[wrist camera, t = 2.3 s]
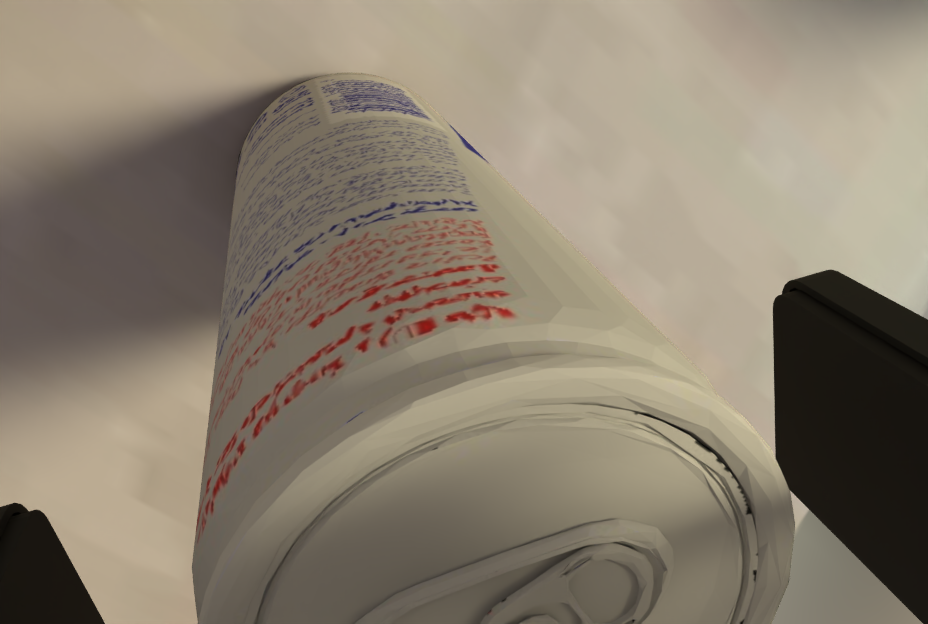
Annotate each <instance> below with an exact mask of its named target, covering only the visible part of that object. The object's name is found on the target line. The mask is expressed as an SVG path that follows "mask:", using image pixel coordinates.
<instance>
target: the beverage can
mask: <svg viewBox="0 0 928 624" xmlns="http://www.w3.org/2000/svg"><path fill="white" fill-rule="evenodd" d="M794 530H795V521H794V514H793V507H792V501H791V494H790V490H789V488H788V485H787V483H786V481H785V478H784V476H783V474H782V471H781V469H780V467H779V465H778V463H777V460H776V458H775V456H774V454H773V452H772V450H771V448H770V447H769V446H768V445H767V443H766V442H765V441H764V440H763V439H762V437H761V436H760V435H759V434H758V433H757V431H756V430H755V429H754V428H753V427H752V425H751V424H750V423H749V422H748V421H747V420H746V419H745V418H744V417H743V416H742V415H741V414H740V413H739V412H738V411H736V410H735V409H734V408H733V407H732V406H731V405H730V404H729V403H728V402H727V401H726V400H724V399H723V398H721V397H719V396H718V394H717V393H716V391H715V390H714V388H713V387H712V385H711V384H710V382H709V381H708V379H707V377H706V376H705V375H704V374H703V373H702V372H701V371H700V370H699V369H698V368H697V367H696V366H695V365H694V364H693V363H692V362H691V361H690V360H689V359H688V358H687V357H686V356H685V355H684V354H683V353H682V352H681V351H680V350H679V349H678V348H677V347H676V346H675V345H674V344H673V343H672V342H671V341H670V340H669V339H668V338H667V337H666V336H665V335H664V334H663V333H662V332H661V331H660V330H659V329H657V328H656V327H655V326H654V325H653V324H652V323H651V322H650V321H649V320H648V319H647V318H646V317H645V316H644V315H643V314H642V313H641V312H640V311H639V310H638V309H637V308H636V307H635V306H634V305H633V304H632V303H631V302H630V301H629V300H628V299H627V298H626V297H625V296H624V295H623V294H622V293H621V292H620V291H619V290H618V289H617V288H616V287H615V286H614V285H613V284H612V283H611V282H610V281H609V280H608V279H607V278H605V277H604V276H603V275H602V274H601V273H600V272H599V271H598V270H597V269H596V268H595V267H594V266H593V265H592V264H591V263H590V262H589V261H588V260H587V259H586V258H585V257H584V256H583V255H582V254H581V253H580V252H579V251H578V250H577V249H576V248H575V247H574V246H573V245H572V244H571V243H570V242H569V241H568V240H567V239H566V238H565V237H564V236H563V235H562V234H561V233H560V232H559V231H558V230H557V229H556V228H555V227H553V226H552V225H551V224H550V223H549V222H548V221H547V220H546V219H545V218H544V217H543V216H542V215H541V214H540V213H539V212H538V211H537V210H536V209H535V208H534V207H533V206H532V205H531V204H530V203H529V202H528V201H527V200H526V199H525V198H524V197H523V196H522V195H521V194H520V193H519V192H518V191H517V190H516V189H515V188H514V187H513V186H512V185H511V184H510V183H509V182H508V181H507V180H506V179H505V178H504V177H503V176H501V175H500V174H499V173H498V172H497V171H496V170H495V169H494V168H493V167H492V166H491V165H490V164H489V163H488V162H487V161H486V160H485V159H484V158H483V157H482V156H481V155H480V154H479V153H478V152H477V151H476V150H475V149H474V148H473V147H472V146H471V145H470V144H469V143H468V142H467V141H466V140H465V139H464V138H463V137H462V136H461V135H460V134H459V133H458V132H457V131H456V130H455V129H454V128H453V127H452V126H450V125H449V124H448V123H447V122H446V121H445V120H444V119H443V118H442V117H441V116H440V115H439V114H438V113H437V112H436V111H435V110H434V109H433V108H432V107H431V106H430V105H429V104H428V103H427V102H426V101H424V100H423V99H422V98H421V97H420V96H418V95H417V94H415V93H414V92H413V91H411V90H410V89H408V88H406V87H404V86H402V85H400V84H398V83H396V82H393V81H391V80H388V79H386V78H382V77H379V76H374V75H369V74H363V73H337V74H330V75H325V76H321V77H317V78H314V79H311V80H308V81H306V82H303V83H301V84H299V85H297V86H295V87H293V88H292V89H290V90H288V91H287V92H285V93H283V94H282V95H281V96H280V97H278V98H277V99H276V100H275V101H274V102H272V103H271V104H270V105H269V106H268V107H267V108H266V109H265V110H264V111H263V112H262V114H261V115H260V116H259V117H258V119H257V120H256V121H255V123H254V124H253V126H252V128H251V129H250V131H249V133H248V135H247V136H246V139H245V142H244V144H243V147H242V149H241V152H240V155H239V160H238V166H237V172H236V184H235V193H234V202H233V210H232V219H231V228H230V237H229V246H228V254H227V263H226V272H225V281H224V290H223V298H222V307H221V316H220V325H219V334H218V342H217V351H216V360H215V369H214V378H213V386H212V395H211V404H210V413H209V422H208V430H207V439H206V448H205V457H204V466H203V474H202V483H201V492H200V501H199V510H198V518H197V527H196V536H195V545H194V554H193V562H192V573H193V584H194V594H195V602H196V610H197V618H198V624H771V623H772V621H773V619H774V616H775V614H776V612H777V609H778V607H779V604H780V602H781V600H782V598H783V595H784V593H785V590H786V588H787V586H788V583H789V577H790V568H791V559H792V551H793V542H794Z"/></svg>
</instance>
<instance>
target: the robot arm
mask: <svg viewBox="0 0 928 624" xmlns="http://www.w3.org/2000/svg"><path fill="white" fill-rule="evenodd" d="M773 338H774V392H775V447H776V460H777V463H778V465H779V467H780V469H781V471H782V474H783V476H784V478H785V481H786V483H787V485H788V488H789V490H790V491H791V492H792V493H793V494H794V495H795V496H796V497H797V498H798V499H799V500H800V501H801V502H802V503H803V504H804V505H805V506H806V507H807V508H808V509H809V510H810V511H811V512H812V513H814V515H816V517H817V518H818V519H819V520H820V521H821V522H822V523H823V524H824V525H825V526H826V527H827V528H828V529H829V530H831V532H832V533H833V534H834V535H836V537H837V538H838V539H839V540H840V541H841V542H842V543H843V544H845V546H846V547H847V548H848V549H849V550H850V551H851V552H852V553H853V554H854V555H855V556H856V557H857V558H858V559H859V560H860V561H861V562H862V563H863V564H864V565H865V566H866V567H867V568H868V569H869V570H870V571H871V572H872V573H873V574H874V575H875V576H876V577H877V578H878V579H879V580H880V581H881V582H882V583H883V584H884V585H885V586H886V587H887V588H888V589H889V590H890V591H891V592H892V593H893V594H894V595H895V596H896V597H897V598H898V599H899V600H900V601H901V602H902V603H903V604H904V605H905V606H906V607H907V608H908V609H909V610H910V611H911V612H912V613H913V614H914V615H915V616H916V617H917V618H918V619H919V620H920V621H921V622H922V623H923V624H928V320H927V319H925V318H924V317H922V316H920V315H918V314H916V313H914V312H912V311H911V310H909V309H907V308H905V307H903V306H901V305H899V304H897V303H896V302H894V301H892V300H890V299H888V298H886V297H884V296H883V295H881V294H879V293H877V292H875V291H873V290H871V289H869V288H868V287H866V286H864V285H862V284H860V283H858V282H856V281H855V280H853V279H851V278H849V277H847V276H845V275H843V274H841V273H840V272H838V271H834V270H826V271H823V272H819V273H816V274H812V275H809V276H805V277H802V278H798V279H795V280H791V281H789V282H788V283H786V284H785V286H784V288H783V291H782V295H778V296H777V297H776V298H775V301H774V303H773ZM0 624H105V623H104V621H103V619H102V617H101V615H100V614H99V612H98V610H97V608H96V606H95V604H94V603H93V601H92V599H91V597H90V595H89V594H88V592H87V590H86V588H85V586H84V584H83V583H82V581H81V579H80V577H79V575H78V573H77V572H76V570H75V568H74V566H73V564H72V562H71V561H70V559H69V557H68V555H67V553H66V551H65V550H64V548H63V546H62V544H61V542H60V540H59V539H58V537H57V535H56V533H55V531H54V529H53V528H52V526H51V524H50V522H49V520H48V519H47V517H46V516H45V514H44V513H42V512H41V511H40V510H33V511H30V512H29V511H28V510H27V509H26V508H25V507H24V506H23V505H21V504H18V503H13V504H9V505H6V506H2V507H0Z"/></svg>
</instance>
